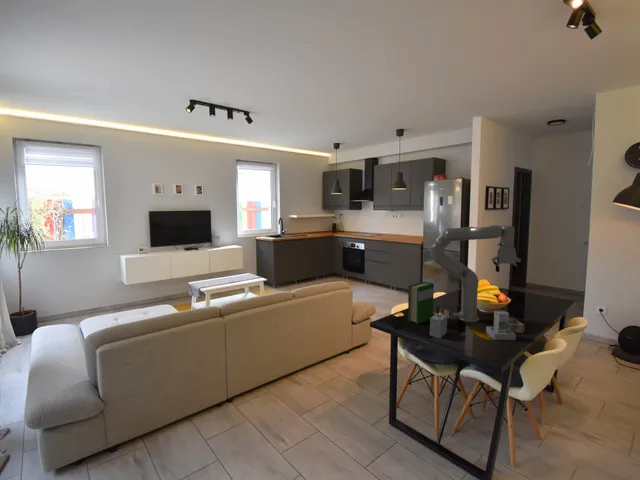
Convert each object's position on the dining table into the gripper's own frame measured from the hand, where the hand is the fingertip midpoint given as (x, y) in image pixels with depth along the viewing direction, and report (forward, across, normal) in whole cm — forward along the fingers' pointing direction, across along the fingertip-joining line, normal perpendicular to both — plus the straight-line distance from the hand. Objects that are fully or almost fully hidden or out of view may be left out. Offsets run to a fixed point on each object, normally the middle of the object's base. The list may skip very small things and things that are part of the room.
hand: (505, 272), depth 212 cm
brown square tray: (+33, -1, -11) cm, 35 cm away
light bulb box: (+34, -46, -24) cm, 62 cm away
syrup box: (+34, -11, -23) cm, 42 cm away
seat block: (+33, -11, -23) cm, 42 cm away
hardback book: (+33, -52, +1) cm, 62 cm away
